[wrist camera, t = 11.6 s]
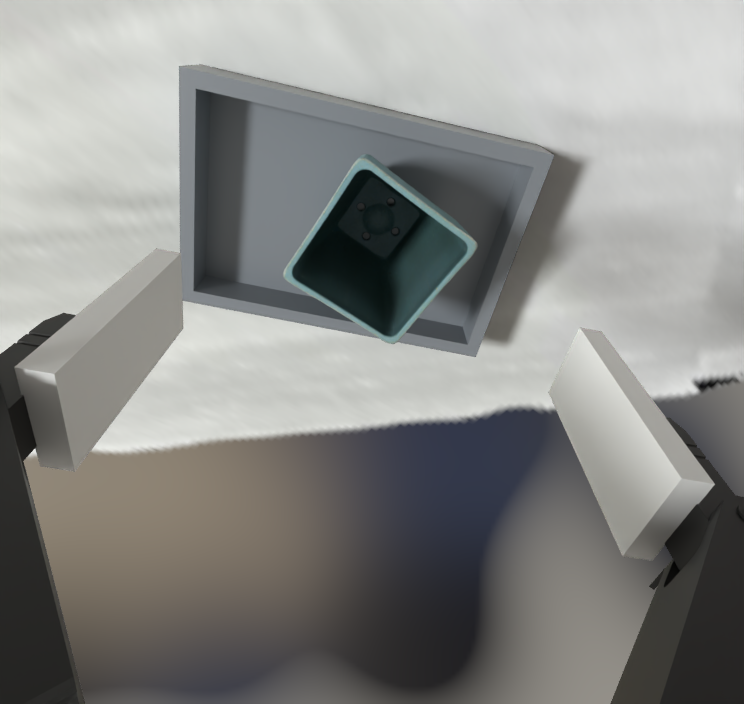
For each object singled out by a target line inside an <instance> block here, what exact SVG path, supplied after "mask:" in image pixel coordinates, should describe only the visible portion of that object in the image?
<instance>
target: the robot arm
mask: <svg viewBox="0 0 744 704" xmlns="http://www.w3.org/2000/svg"><path fill="white" fill-rule="evenodd" d="M182 329H183V303H182V270H181V253H177V252H172V251H167V250H161V249H155V250H154V251H153V252H152V253H150V254H149V255H148V256H147V257H146V258H144V259H143V260H142V261H141V262H140V263H138V264H137V265H136V266H135V267H134V268H132V269H131V270H130V271H129V272H128V273H126V274H125V275H124V276H123V277H122V278H120V279H119V280H118V281H117V282H116V283H114V284H113V285H112V286H111V287H110V288H108V289H107V290H106V291H105V292H104V293H103V294H101V295H100V296H99V297H98V298H97V299H95V300H94V301H93V302H92V303H91V304H89V305H88V306H87V307H86V308H85V309H83V310H82V311H81V312H80V313H79V314H77V315H72V314H66V313H63V314H60V315H58V316H55V317H52V318H50V319H47V320H45V321H43V322H41V323H40V324H39V325H38V326H36V327H35V328H34V329H32V330H31V331H30V332H29V335H28V334H26V335H25V336H23V337H22V338H21V339H19V340H18V343H14V344H13V345H12V346H10V347H9V348H8V349H7V350H5V351H4V352H3V353H1V354H0V704H85V701H84V696H83V692H82V689H81V685H80V681H79V677H78V673H77V669H76V665H75V661H74V657H73V654H72V649H71V645H70V641H69V638H68V634H67V630H66V626H65V622H64V618H63V614H62V610H61V606H60V602H59V599H58V594H57V591H56V587H55V583H54V579H53V575H52V571H51V567H50V563H49V559H48V555H47V551H46V548H45V544H44V540H43V536H42V532H41V528H40V524H39V520H38V516H37V512H36V508H35V504H34V500H33V497H32V493H31V489H30V485H29V481H28V477H27V473H26V469H25V466H24V462H23V461H24V460H25V459H26V457H27V456H28V455H29V454H30V453H31V452H32V451H33V450H34V449H35V448H36V452H37V456H38V460H39V464H40V466H42V467H49V468H55V469H62V470H68V471H74V472H75V471H76V469H77V468H78V467H79V465H80V464H81V463H82V461H83V460H84V459H85V457H86V456H87V455H88V454H89V452H90V451H91V450H92V448H93V447H94V446H95V444H96V443H97V442H98V440H99V439H100V438H101V436H102V435H103V434H104V432H105V431H106V430H107V428H108V427H109V426H110V424H111V423H112V422H113V421H114V419H115V418H116V417H117V415H118V414H119V413H120V411H121V410H122V409H123V407H124V406H125V405H126V403H127V402H128V401H129V399H130V398H131V397H132V395H133V394H134V393H135V391H136V390H137V389H138V387H139V386H140V385H141V383H142V382H143V381H144V380H145V378H146V377H147V376H148V374H149V373H150V372H151V370H152V369H153V368H154V366H155V365H156V364H157V362H158V361H159V360H160V358H161V357H162V356H163V354H164V353H165V352H166V350H167V349H168V348H169V346H170V345H171V344H172V343H173V341H174V340H175V339H176V337H177V336H178V335H179V333H180V332H181V331H182ZM548 393H549V395H550V397H551V399H552V402H553V404H554V406H555V408H556V410H557V413H558V415H559V417H560V419H561V421H562V423H563V426H564V428H565V430H566V432H567V435H568V437H569V439H570V441H571V443H572V445H573V448H574V450H575V452H576V454H577V456H578V459H579V461H580V463H581V465H582V468H583V470H584V472H585V474H586V476H587V479H588V481H589V483H590V485H591V487H592V490H593V491H594V494H595V496H596V499H597V501H598V503H599V505H600V507H601V509H602V512H603V514H604V516H605V518H606V521H607V523H608V525H609V527H610V529H611V531H612V534H613V536H614V538H615V540H616V543H617V545H618V547H619V549H620V551H621V554H622V556H626V557H632V558H639V559H646V560H653V559H654V558H655V556H656V555H657V554H658V553H659V552H660V550H661V549H662V548H663V546H665V545H666V547H667V549H668V550H669V552H670V554H671V556H672V558H673V560H672V561H671V562H670V563H669V564H668V565H667V567H666V568H665V569H664V570H663V571H662V572H661V573H660V575H659V576H658V577H657V578H656V579H655V581H654V582H653V583H652V584H651V585H650V586H649V587H651V588H652V589H655V588H656V587H657V586H658V587H657V589H656V592H655V594H654V597H653V599H652V602H651V604H650V607H649V609H648V612H647V614H646V617H645V619H644V622H643V624H642V627H641V629H640V632H639V634H638V636H637V639H636V642H635V644H634V646H633V649H632V651H631V654H630V656H629V659H628V662H627V664H626V666H625V669H624V671H623V674H622V677H621V679H620V681H619V684H618V686H617V689H616V691H615V694H614V696H613V699H612V701H611V704H744V497H740V496H735V494H734V493H733V492H732V490H731V489H730V488H729V487H728V485H727V484H726V483H725V481H724V480H723V479H722V477H721V476H720V475H719V474H718V472H717V471H716V470H715V468H714V467H713V466H712V464H711V463H710V462H709V461H708V460H706V459H705V455H704V454H703V453H702V452H701V450H700V449H699V448H697V445H696V444H695V442H694V441H693V440H692V439H691V437H690V436H689V435H688V433H687V432H686V431H685V430H684V429H683V428H681V427H680V426H679V425H678V424H676V423H675V422H674V421H673V420H672V419H670V418H666V417H665V416H664V415H663V414H662V412H661V411H660V409H659V408H658V407H657V405H656V404H655V403H654V401H653V400H652V399H651V397H650V396H649V395H648V393H647V392H646V391H645V389H644V388H643V387H642V385H641V384H640V382H639V381H638V380H637V378H636V377H635V376H634V374H633V373H632V372H631V370H630V369H629V368H628V366H627V365H626V364H625V362H624V361H623V360H622V358H621V357H620V356H619V354H618V353H617V351H616V350H615V349H614V347H613V346H612V345H611V343H610V342H609V341H608V339H607V338H606V337H605V335H604V334H603V333H602V332H601V331H596V330H591V329H585V328H579V330H578V332H577V334H576V336H575V338H574V341H573V343H572V345H571V347H570V349H569V351H568V353H567V355H566V357H565V359H564V361H563V363H562V365H561V368H560V370H559V372H558V374H557V376H556V378H555V380H554V382H553V384H552V386H551V388H550V390H549V392H548Z"/></svg>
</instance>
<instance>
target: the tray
mask: <svg viewBox="0 0 744 704" xmlns="http://www.w3.org/2000/svg"><path fill="white" fill-rule="evenodd" d="M179 139H180V253H181V270H182V301H187V302H193V303H198V304H203V305H208V306H213V307H219V308H224V309H229V310H234V311H239V312H244V313H250V314H255V315H260V316H265V317H270V318H276V319H281V320H286V321H291V322H296V323H301V324H307V325H312V326H317V327H322V328H327V329H333V330H338V331H343V332H348V333H353V334H358V335H364V336H369V337H374V338H378V337H377V336H375V335H374V334H372V333H371V332H369V331H368V330H366V329H364V328H363V327H361V326H360V325H358V324H356V323H355V322H353V321H352V320H350V319H349V318H347V317H345V316H344V315H342V314H340V313H339V312H337V311H336V310H334V309H332V308H331V307H329V306H327V305H326V304H324V303H323V302H321V301H319V300H318V299H316V298H314V297H312V296H310V295H309V294H307V293H306V292H304V291H302V290H301V289H299V288H297V287H296V286H294V285H292V284H291V283H289V282H288V281H287V280H285V278H284V276H283V272H284V269H285V268H286V266H287V265H288V263H289V262H290V260H291V259H292V258H293V256H294V255H295V253H296V252H297V250H298V249H299V247H300V246H301V244H302V242H303V241H304V239H305V238H306V237H307V235H308V234H309V232H310V231H311V229H312V228H313V226H314V225H315V223H316V222H317V220H318V219H319V217H320V215H321V214H322V212H323V211H324V209H325V208H326V206H327V205H328V203H329V201H330V200H331V198H332V197H333V195H334V194H335V192H336V191H337V189H338V187H339V186H340V184H341V183H342V181H343V179H344V178H345V176H346V175H347V173H348V171H349V170H350V168H351V167H352V165H353V164H354V162H355V161H356V160H357V159H358V158H359V157H360V156H362V155H364V154H368V155H371V156H372V157H374V158H375V159H376V160H378V161H379V162H380V163H382V164H383V165H384V166H385V167H387V168H388V169H389V170H391V171H392V172H393V173H394V174H396V175H397V176H398V177H400V178H401V179H402V180H403V181H405V182H406V183H407V184H409V185H410V186H411V187H413V188H414V189H415V190H417V191H418V192H419V193H421V194H422V195H423V196H425V197H426V198H427V199H428V200H430V201H431V202H432V203H434V204H435V205H436V206H438V207H439V208H440V209H442V210H443V211H445V212H446V213H447V214H449V215H450V216H451V217H453V218H454V219H455V220H456V221H457V222H458V223H459V224H460V225H461V226H462V227H463V228H464V229H465V230H466V231H467V232H468V234H469V235H470V236H471V237H472V238H473V239H474V240H475V241H476V242H477V245H478V246H477V249H476V251H475V253H474V254H473V256H472V257H471V258H470V259H469V260H468V261H467V262H466V263H465V264H464V265H463V266H462V268H461V269H460V270H459V271H458V272H457V273H456V274H455V276H454V277H453V278H452V279H451V280H450V281H449V282H448V283H447V284H446V286H445V287H444V288H443V289H442V290H441V291H440V293H439V294H438V295H437V296H436V297H435V298H434V300H433V301H432V302H431V303H430V304H429V305H428V307H427V308H426V309H425V310H424V311H423V313H422V314H421V315H420V316H419V317H418V318H417V320H416V321H415V322H414V323H413V324H412V326H411V327H410V328H409V329H408V330H407V331H406V333H405V334H404V335H403V336H402V338H401V339H400V340H399V341H398V342H400V343H405V344H410V345H415V346H421V347H426V348H431V349H436V350H441V351H446V352H452V353H457V354H462V355H467V356H472V357H476V355H477V352H478V350H479V347H480V345H481V342H482V339H483V337H484V334H485V332H486V329H487V327H488V324H489V322H490V319H491V316H492V314H493V311H494V309H495V306H496V304H497V301H498V298H499V296H500V293H501V291H502V288H503V286H504V283H505V281H506V278H507V275H508V273H509V270H510V268H511V265H512V263H513V260H514V257H515V255H516V252H517V250H518V247H519V245H520V242H521V240H522V237H523V234H524V232H525V229H526V227H527V224H528V222H529V219H530V217H531V214H532V211H533V209H534V206H535V204H536V201H537V199H538V196H539V193H540V191H541V188H542V186H543V183H544V181H545V178H546V176H547V173H548V170H549V168H550V165H551V163H552V160H553V158H554V155H553V154H552V153H550V152H549V151H547V150H545V149H544V148H542V147H541V146H539V145H537V144H532V143H528V142H524V141H520V140H516V139H511V138H507V137H503V136H499V135H495V134H490V133H486V132H482V131H478V130H474V129H469V128H465V127H461V126H457V125H453V124H448V123H444V122H440V121H436V120H432V119H427V118H423V117H419V116H415V115H411V114H406V113H402V112H398V111H394V110H390V109H385V108H381V107H377V106H373V105H369V104H364V103H360V102H356V101H352V100H348V99H343V98H339V97H335V96H331V95H327V94H323V93H318V92H314V91H310V90H306V89H302V88H297V87H293V86H289V85H285V84H281V83H276V82H272V81H268V80H264V79H260V78H255V77H251V76H247V75H243V74H239V73H234V72H230V71H226V70H222V69H218V68H213V67H209V66H205V65H201V64H200V65H188V66H179ZM387 203H388V204H389V205H393V204H394V200H393V199H392V198H389V199H388V200H387ZM357 208H358V209H359V210H363V209H364V204H363V203H359V204H358V205H357ZM392 233H393V234H397V233H398V229H397V228H394V229H392ZM363 237H364V238H365V239H368V238H369V233H367V232H366V233H364V234H363Z"/></svg>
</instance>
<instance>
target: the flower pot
mask: <svg viewBox="0 0 744 704" xmlns="http://www.w3.org/2000/svg"><path fill="white" fill-rule="evenodd" d="M389 198H392V199H393V200H394V204H393V205H389V204H388V203H387V200H388V199H389ZM359 203H363V204H364V209H363V210H359V209H358V208H357V205H358V204H359ZM394 228H397V229H398V233H397V234H393V233H392V229H394ZM366 232H367V233H369V238H368V239H365V238H364V237H363V234H364V233H366ZM477 246H478V245H477V242H476V241H475V240H474V239H473V238H472V237H471V236H470V235H469V234H468V232H467V231H466V230H465V229H464V228H463V227H462V226H461V225H460V224H459V223H458V222H457V221H456V220H455V219H454V218H453V217H451V216H450V215H449V214H447V213H446V212H445V211H443V210H442V209H440V208H439V207H438V206H436V205H435V204H434V203H432V202H431V201H430V200H428V199H427V198H426V197H425V196H423V195H422V194H421V193H419V192H418V191H417V190H415V189H414V188H413V187H411V186H410V185H409V184H407V183H406V182H405V181H403V180H402V179H401V178H400V177H398V176H397V175H396V174H394V173H393V172H392V171H391V170H389V169H388V168H387V167H385V166H384V165H383V164H382V163H380V162H379V161H378V160H376V159H375V158H374V157H372V156H371V155H368V154H364V155H362V156H360V157H359V158H358V159H357V160H356V161H355V162H354V164H353V165H352V167H351V168H350V170H349V171H348V173H347V175H346V176H345V178H344V179H343V181H342V183H341V184H340V186H339V187H338V189H337V191H336V192H335V194H334V195H333V197H332V198H331V200H330V201H329V203H328V205H327V206H326V208H325V209H324V211H323V212H322V214H321V215H320V217H319V219H318V220H317V222H316V223H315V225H314V226H313V228H312V229H311V231H310V232H309V234H308V235H307V237H306V238H305V239H304V241H303V242H302V244H301V246H300V247H299V249H298V250H297V252H296V253H295V255H294V256H293V258H292V259H291V260H290V262H289V263H288V265H287V266H286V268H285V269H284V272H283V276H284V278H285V280H287V281H288V282H289V283H291V284H292V285H294V286H296V287H297V288H299V289H301V290H302V291H304V292H306V293H307V294H309V295H310V296H312V297H314V298H316V299H318V300H319V301H321V302H323V303H324V304H326V305H327V306H329V307H331V308H332V309H334V310H336V311H337V312H339V313H340V314H342V315H344V316H345V317H347V318H349V319H350V320H352V321H353V322H355V323H356V324H358V325H360V326H361V327H363V328H364V329H366V330H368V331H369V332H371V333H372V334H374V335H375V336H377V337H378V338H379V339H381V340H383V341H385V342H387V343H390V344H395V343H397V342H398V341H399V340H400V339H401V338H402V336H403V335H404V334H405V333H406V331H407V330H408V329H409V328H410V327H411V326H412V324H413V323H414V322H415V321H416V320H417V318H418V317H419V316H420V315H421V314H422V313H423V311H424V310H425V309H426V308H427V307H428V305H429V304H430V303H431V302H432V301H433V300H434V298H435V297H436V296H437V295H438V294H439V293H440V291H441V290H442V289H443V288H444V287H445V286H446V284H447V283H448V282H449V281H450V280H451V279H452V278H453V277H454V276H455V274H456V273H457V272H458V271H459V270H460V269H461V268H462V266H463V265H464V264H465V263H466V262H467V261H468V260H469V259H470V258H471V257H472V256H473V254H474V253H475V251H476V249H477Z"/></svg>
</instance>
